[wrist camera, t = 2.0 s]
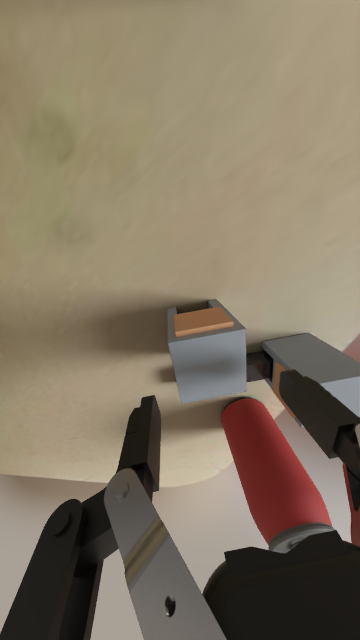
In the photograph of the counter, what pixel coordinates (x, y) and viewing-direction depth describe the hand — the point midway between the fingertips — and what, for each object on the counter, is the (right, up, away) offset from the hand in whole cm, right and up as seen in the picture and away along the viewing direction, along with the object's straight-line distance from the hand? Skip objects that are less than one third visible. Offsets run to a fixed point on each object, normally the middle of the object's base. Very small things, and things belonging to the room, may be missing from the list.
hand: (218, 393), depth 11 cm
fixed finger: (+11, 0, +10) cm, 15 cm away
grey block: (-1, +4, +8) cm, 9 cm away
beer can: (+7, -9, +14) cm, 18 cm away
